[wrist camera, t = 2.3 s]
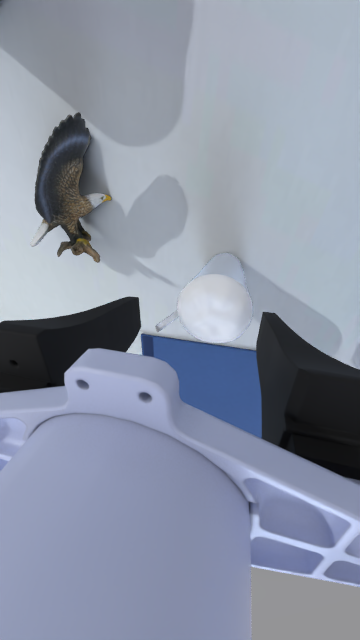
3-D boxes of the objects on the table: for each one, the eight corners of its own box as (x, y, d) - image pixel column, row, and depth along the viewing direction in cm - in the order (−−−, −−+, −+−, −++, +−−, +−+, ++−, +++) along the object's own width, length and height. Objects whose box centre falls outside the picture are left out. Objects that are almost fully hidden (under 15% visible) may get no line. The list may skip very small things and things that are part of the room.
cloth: (337, 362, 23) (338, 365, 23) (299, 449, 30) (299, 452, 29) (141, 333, 27) (140, 335, 27) (148, 416, 34) (147, 418, 33)
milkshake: (186, 249, 21) (146, 292, 13) (249, 241, 20) (252, 283, 11) (194, 296, 23) (164, 360, 15) (251, 292, 22) (255, 361, 13)
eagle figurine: (140, 247, 21) (117, 110, 15) (60, 278, 17) (-10, 114, 11) (98, 229, 25) (67, 117, 19) (27, 250, 22) (-35, 122, 16)
